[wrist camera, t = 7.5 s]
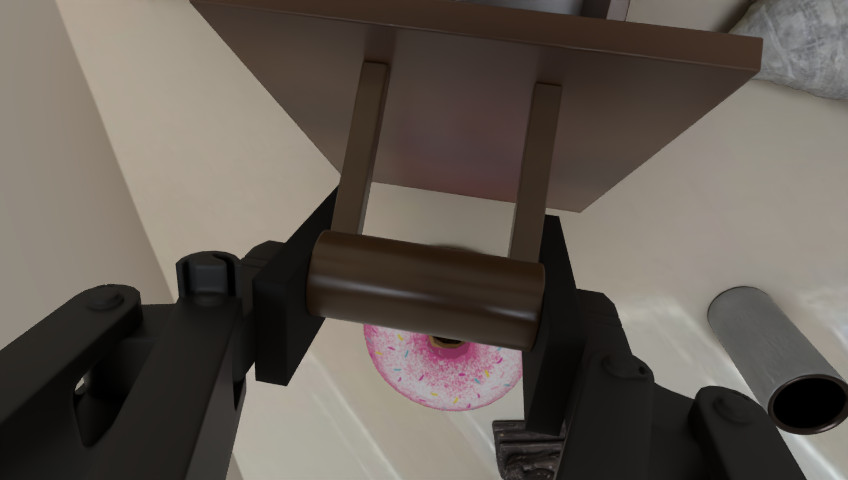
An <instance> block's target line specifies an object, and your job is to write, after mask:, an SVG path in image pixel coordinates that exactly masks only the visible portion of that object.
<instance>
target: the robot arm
mask: <svg viewBox="0 0 848 480" xmlns="http://www.w3.org/2000/svg"><path fill="white" fill-rule="evenodd" d="M338 188H339V185H338V186H337V187H336V188H335V189H334V190H333V191H332V193H331V194H330V195H329V196H328V197H327V198H326V199H325V200H324V201H323V202H322V203H321V205H320V206H319V207H318V208H317V209H316V210H315V211H314V212H313V213H312V214H311V215H310V217H309V218H308V219H307V220H306V221H305V222H304V223H303V224H302V225H301V226H300V227H299V229H298V230H297V231H296V232H295V233H294V234H293V235H292V236H291V237H290V238H289V239H288V241H287V242H286V243H283V242H276V241H270V240H269V241H266V242H264V243H262V244H260V245H257V246H255V247H253V248H252V249H251V250H250V251H249V252H248V253H247V254H246V255H245V258H244V257H243V258H242V259H241V260H240V259H239V258H237V257H236V256H235V255H233V254H230V253H227V252H221V251H202V252H198V253H193V254H190V255H188V256H185V257H183V258H181V259H180V260H179V261H178V262H177V263H176V272H177V282H178V291H179V298H178V300H177V302H176V303H175V304H154V305H153V304H150V305H141V298H140V292H139V291H138V290H136V289H135V288H134V287H131V286H127V285H117V284H107V285H100V286H97V287H94V288H91V289H88V290H85V291H83V292H81V293H80V294H78V295H76V296H74V297H73V298H72V299H70V300H69V301H68V302H66V303H65V304H63V305H62V306H61V307H59V308H58V309H57V310H55V311H54V312H52V313H51V314H50V315H49V316H47V317H46V318H44V319H43V320H41V321H40V322H39V323H37V324H36V325H35V326H33V327H32V328H30V329H29V330H28V331H26V332H25V333H24V334H22V335H21V336H20V337H18V338H17V339H15V340H14V341H13V342H11V343H10V344H8V345H7V346H6V347H4V348H3V349H2V350H0V480H225V479H226V475H227V471H228V467H229V462H230V458H231V454H232V450H233V445H234V441H235V437H236V433H237V428H238V424H239V420H240V416H241V411H242V407H243V403H244V398H245V394H246V373H247V372H248V371H249V369H250V368H251V366H252V365H253V363H254V362H255V379H256V381H261V382H266V383H272V384H277V385H282V386H287V385H288V383H289V381H290V380H291V378H292V376H293V374H294V373H295V371H296V369H297V367H298V366H299V364H300V362H301V360H302V359H303V357H304V355H305V353H306V352H307V350H308V348H309V346H310V345H311V343H312V341H313V339H314V338H315V336H316V334H317V332H318V331H319V329H320V327H321V325H322V324H323V322H324V320H325V318H326V317H321V316H315V315H312V314H310V313H309V312H308V309H307V306H306V296H305V291H306V278H307V272H308V266H309V262H310V258H311V255H312V251H313V248H314V246H315V243H316V241H317V239H318V237H319V236H320V234H321V233H322V232H323V231H324V230H328V229H329V230H331V225H332V220H333V214H334V209H335V204H336V199H337V193H338ZM538 263H542V264H543V265H544V269H545V293H544V303H543V310H542V317H541V322H540V327H539V331H538V335H537V339H536V342H535V345H534V347H533V349H532V351H531V352H524V351H522V372H523V396H524V419H525V431H530V432H536V433H541V434H546V435H552V436H557V437H559V435H560V432H561V428H562V425H563V421H564V419H565V427H566V436H565V439H564V442H563V446H562V449H561V452H560V456H559V459H558V463H557V466H556V469H555V473H554V478H553V480H807V479H806V477H805V476H804V474H803V472H802V471H801V469H800V467H799V465H798V464H797V462H796V460H795V459H794V457H793V455H792V453H791V452H790V450H789V448H788V447H787V445H786V443H785V441H784V440H783V438H782V436H781V434H780V433H779V431H778V429H777V428H776V426H775V424H774V422H773V421H772V419H771V417H770V416H769V415H768V413H767V412H766V411H765V410H764V409H763V407H762V406H760V405H759V404H758V403H756V402H755V401H754V400H752V399H751V398H750V397H748V396H746V395H744V394H741V393H740V392H738V391H736V390H732V389H728V388H725V387H720V386H707V387H703V388H701V389H700V390H699V391H698V393H697V394H696V396H695V399H691V398H689V397H686V396H683V395H681V394H678V393H675V392H673V391H670V390H668V389H666V388H664V387H661V386H660V385H658V384H656V383H655V382H654V376H653V372H652V370H651V369H650V368H649V367H648V366H647V364H646V363H644V362H643V361H642V360H640V359H639V358H637V357H636V356H634V355H632V352H631V349H630V346H629V344H628V341H627V338H626V335H625V332H624V330H623V328H622V324H621V321H620V318H618V317H619V316H618V313H617V310H616V307H615V304H614V303H613V302H612V301H611V300H610V299H609V298H607V297H606V296H605V295H604V294H603V293H600V292H594V291H587V290H581V289H576V285H575V280H574V276H573V272H572V268H571V264H570V260H569V256H568V252H567V248H566V244H565V239H564V235H563V231H562V227H561V223H560V219H559V216H553V215H546V214H545V216H544V223H543V231H542V238H541V245H540V252H539V259H538ZM82 377H83V379H84V383H83V384H82V386H80V387H79V388H78V389H77V390H76V391H75V388H76V385H77V384H78V382H79V381H80V380H81V378H82Z"/></svg>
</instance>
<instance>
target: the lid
mask: <svg viewBox="0 0 848 480" xmlns="http://www.w3.org/2000/svg"><path fill="white" fill-rule="evenodd" d="M189 1H190V3H191V4H192V5H193V6H194V7H195V8H196V10H197V11H198V12H199V13H200V14H201V15H202V17H203V18H204V19H205V20H206V21H207V22H208V23H209V25H210V26H211V27H212V28H213V29H214V30H215V31H216V33H217V34H218V35H219V36H220V37H221V38H222V39H223V41H224V42H225V43H226V44H227V45H228V46H229V47H230V49H231V50H232V51H233V52H234V53H235V54H236V55H237V57H238V58H239V59H240V60H241V61H242V62H243V63H244V65H245V66H246V67H247V68H248V69H249V70H250V71H251V73H252V74H253V75H254V76H255V77H256V78H257V79H258V81H259V82H260V83H261V84H262V85H263V86H264V87H265V89H266V90H267V91H268V92H269V93H270V94H271V95H272V97H273V98H274V99H275V100H276V101H277V102H278V103H279V105H280V106H281V107H282V108H283V109H284V110H285V111H286V113H287V114H288V115H289V116H290V117H291V118H292V119H293V121H294V122H295V123H296V124H297V125H298V126H299V127H300V129H301V130H302V131H303V132H304V133H305V134H306V135H307V137H308V138H309V139H310V140H311V141H312V142H313V143H314V145H315V146H316V147H317V148H318V149H319V150H320V151H321V153H322V154H323V155H324V156H325V157H326V158H327V159H328V161H329V162H330V163H331V164H332V165H333V166H334V167H335V169H336V170H337V171H338V172H339V173H340V174H341V177H340V183H339V188H338V193H337V199H336V204H335V209H334V214H333V220H332V225H331V230H329V229H328V230H324V231H323V232H322V233H321V234H320V236H319V237H318V239H317V241H316V243H315V246H314V248H313V251H312V255H311V258H310V262H309V266H308V272H307V278H306V291H305V296H306V306H307V309H308V312H309V313H310V314H312V315H315V316H321V317H327V318H333V319H338V320H344V321H350V322H356V323H362V324H367V325H373V326H379V327H385V328H391V329H396V330H402V331H408V332H414V333H420V334H425V335H431V336H437V337H443V338H448V339H454V340H460V341H466V342H472V343H477V344H483V345H489V346H495V347H501V348H506V349H512V350H518V351H524V352H531V351H532V349H533V347H534V345H535V342H536V339H537V335H538V331H539V327H540V322H541V317H542V310H543V303H544V293H545V269H544V265H543V264H542V263H538V259H539V252H540V245H541V238H542V231H543V223H544V216H545V209H546V208H551V209H558V210H565V211H572V212H578V213H580V212H582V211H583V210H584V209H586V208H587V207H588V206H589V205H591V204H592V203H593V202H595V201H596V200H597V199H598V198H600V197H601V196H602V195H604V194H605V193H606V192H607V191H609V190H610V189H611V188H612V187H614V186H615V185H616V184H618V183H619V182H620V181H621V180H623V179H624V178H625V177H626V176H628V175H629V174H630V173H632V172H633V171H634V170H635V169H637V168H638V167H639V166H641V165H642V164H643V163H644V162H646V161H647V160H648V159H649V158H651V157H652V156H653V155H655V154H656V153H657V152H658V151H660V150H661V149H662V148H664V147H665V146H666V145H667V144H669V143H670V142H671V141H672V140H674V139H675V138H676V137H678V136H679V135H680V134H681V133H683V132H684V131H685V130H686V129H688V128H689V127H690V126H692V125H693V124H694V123H695V122H697V121H698V120H699V119H701V118H702V117H703V116H704V115H706V114H707V113H708V112H709V111H711V110H712V109H713V108H715V107H716V106H717V105H718V104H720V103H721V102H722V101H724V100H725V99H726V98H727V97H729V96H730V95H731V94H732V93H734V92H735V91H736V90H738V89H739V88H740V87H741V86H743V85H744V84H745V83H746V82H748V81H749V80H750V79H752V78H753V77H754V76H755V75H757V74H758V73H759V72H760V70H761V62H762V51H763V38H761V37H753V36H744V35H736V34H727V33H719V32H710V31H702V30H694V29H685V28H677V27H668V26H660V25H651V24H643V23H634V22H626V21H618V20H609V19H601V18H592V17H584V16H575V15H567V14H558V13H550V12H542V11H533V10H525V9H516V8H508V7H499V6H491V5H482V4H474V3H466V2H457V1H449V0H189ZM371 182H377V183H384V184H391V185H397V186H404V187H411V188H418V189H424V190H431V191H438V192H444V193H451V194H458V195H464V196H471V197H478V198H485V199H491V200H498V201H505V202H511V203H515V209H514V216H513V223H512V229H511V236H510V243H509V250H508V256H507V258H506V257H500V256H494V255H487V254H481V253H475V252H468V251H462V250H456V249H449V248H443V247H437V246H430V245H424V244H418V243H411V242H405V241H399V240H392V239H386V238H380V237H373V236H367V235H362V231H363V226H364V220H365V215H366V209H367V204H368V198H369V193H370V187H371Z"/></svg>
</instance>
